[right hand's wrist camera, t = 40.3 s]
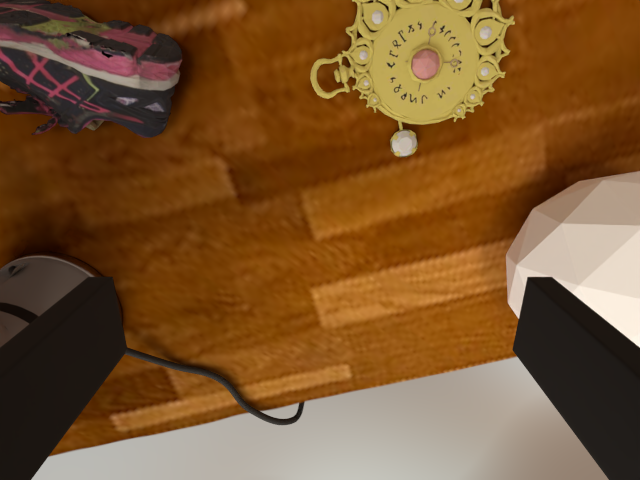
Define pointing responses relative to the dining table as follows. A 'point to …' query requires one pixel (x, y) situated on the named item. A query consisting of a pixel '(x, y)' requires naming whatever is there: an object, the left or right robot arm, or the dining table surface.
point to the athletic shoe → (86, 68)
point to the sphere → (585, 248)
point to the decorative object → (421, 60)
